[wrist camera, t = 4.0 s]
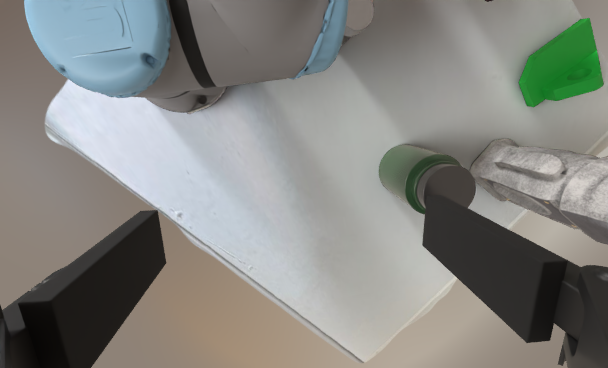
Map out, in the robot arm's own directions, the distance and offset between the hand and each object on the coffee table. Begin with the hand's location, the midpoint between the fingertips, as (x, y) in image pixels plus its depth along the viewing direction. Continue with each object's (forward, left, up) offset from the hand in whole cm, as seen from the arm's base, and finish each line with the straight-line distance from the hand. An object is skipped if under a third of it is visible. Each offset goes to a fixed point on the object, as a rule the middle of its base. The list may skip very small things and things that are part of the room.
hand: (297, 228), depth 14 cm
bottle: (+22, +1, -36) cm, 42 cm away
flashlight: (+4, +18, -36) cm, 41 cm away
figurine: (+40, +6, -36) cm, 54 cm away
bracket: (+40, +25, -35) cm, 59 cm away
